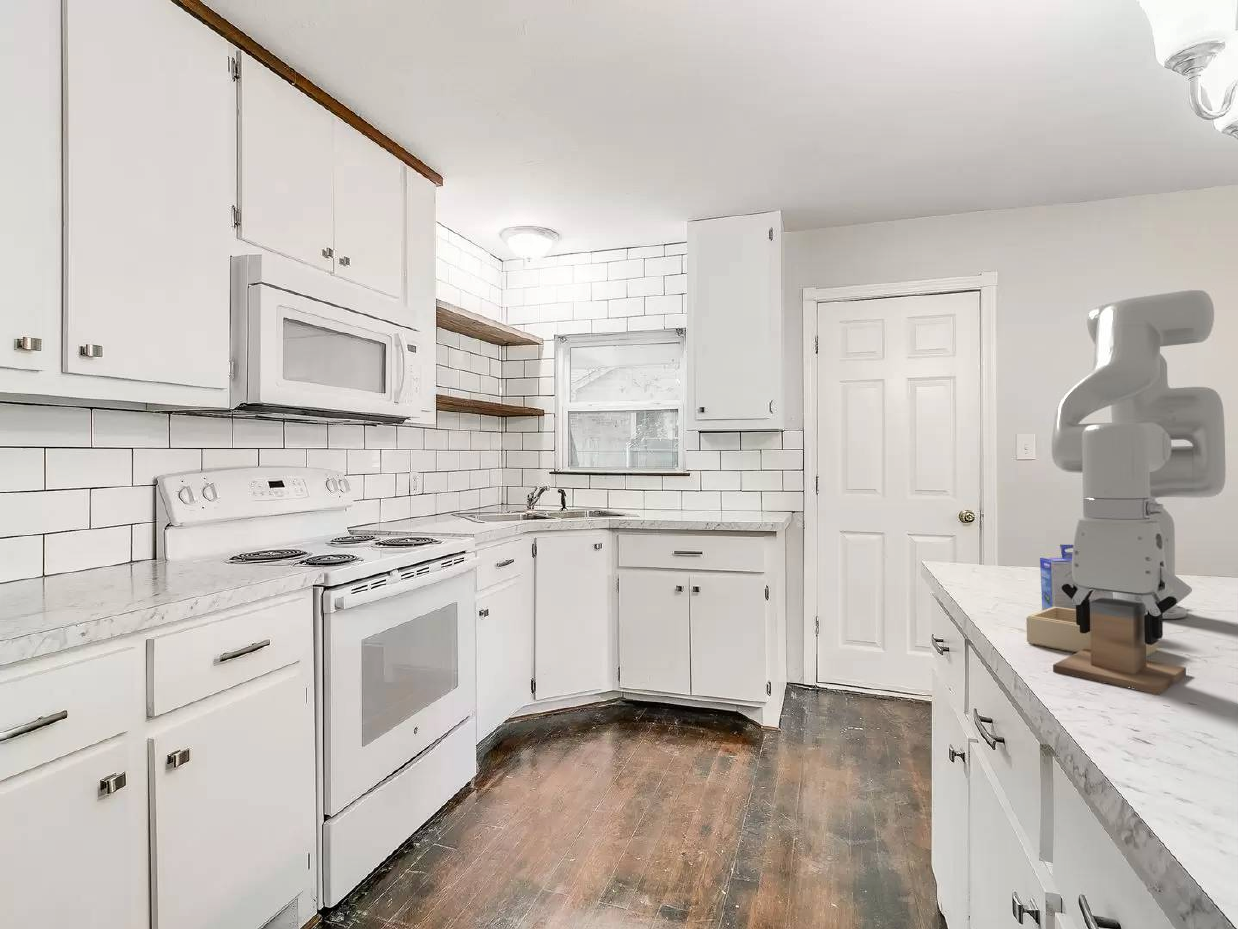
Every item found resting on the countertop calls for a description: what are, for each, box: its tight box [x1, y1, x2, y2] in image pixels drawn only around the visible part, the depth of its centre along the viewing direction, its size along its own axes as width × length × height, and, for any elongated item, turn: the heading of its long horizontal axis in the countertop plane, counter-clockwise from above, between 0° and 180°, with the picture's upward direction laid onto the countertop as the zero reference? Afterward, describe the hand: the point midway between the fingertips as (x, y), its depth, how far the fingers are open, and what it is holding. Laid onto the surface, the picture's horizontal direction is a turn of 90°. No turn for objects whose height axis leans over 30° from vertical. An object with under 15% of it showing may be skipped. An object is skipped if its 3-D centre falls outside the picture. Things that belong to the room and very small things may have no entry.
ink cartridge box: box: [1039, 544, 1113, 611], centre depth 117 cm, size 10×6×14 cm, turn 78°
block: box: [1090, 597, 1147, 674], centre depth 93 cm, size 5×5×9 cm
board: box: [1052, 649, 1187, 695], centre depth 93 cm, size 12×12×1 cm
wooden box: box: [1026, 607, 1159, 658], centre depth 105 cm, size 11×14×4 cm
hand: (1118, 636), depth 92 cm, fingers open, 7 cm apart
